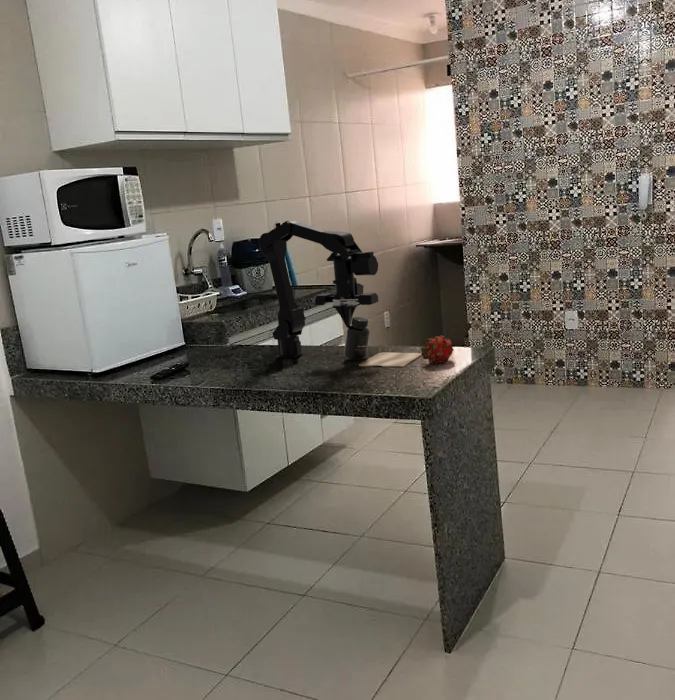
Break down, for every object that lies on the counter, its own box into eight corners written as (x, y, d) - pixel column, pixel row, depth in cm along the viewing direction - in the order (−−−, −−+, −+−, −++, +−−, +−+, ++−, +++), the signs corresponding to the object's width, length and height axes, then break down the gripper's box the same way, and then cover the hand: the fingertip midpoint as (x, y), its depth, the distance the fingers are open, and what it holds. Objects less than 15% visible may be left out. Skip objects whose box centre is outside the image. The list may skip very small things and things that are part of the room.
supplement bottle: (360, 362, 221) (365, 323, 218) (339, 356, 224) (344, 318, 220) (369, 357, 227) (375, 319, 224) (349, 351, 230) (354, 314, 226)
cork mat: (358, 366, 216) (358, 364, 216) (380, 353, 230) (380, 352, 230) (403, 367, 210) (403, 365, 210) (423, 354, 224) (423, 353, 224)
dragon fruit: (423, 373, 208) (446, 369, 217) (445, 357, 203) (467, 353, 212) (409, 347, 211) (432, 344, 220) (430, 330, 206) (453, 328, 215)
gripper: (383, 271, 224) (387, 322, 227) (328, 272, 232) (333, 322, 235) (368, 276, 214) (372, 329, 217) (311, 277, 223) (316, 329, 226)
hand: (348, 327), depth 224 cm, fingers closed, pressing on supplement bottle
